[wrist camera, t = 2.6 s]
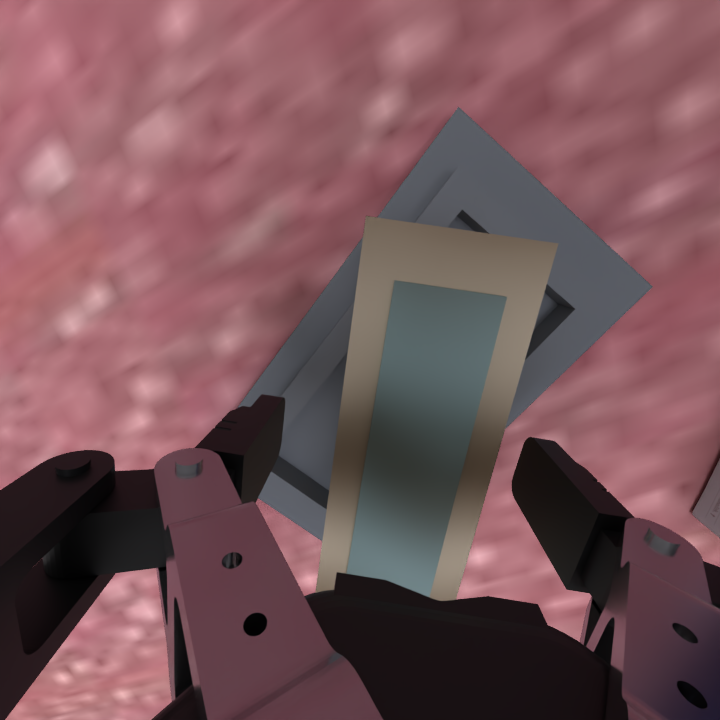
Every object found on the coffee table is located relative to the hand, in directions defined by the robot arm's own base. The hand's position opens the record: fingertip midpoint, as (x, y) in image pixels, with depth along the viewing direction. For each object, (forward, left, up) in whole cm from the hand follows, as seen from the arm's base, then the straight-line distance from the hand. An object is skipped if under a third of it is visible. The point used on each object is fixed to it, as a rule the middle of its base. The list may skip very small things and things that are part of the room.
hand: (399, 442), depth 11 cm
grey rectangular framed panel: (-1, 0, -8) cm, 8 cm away
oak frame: (-1, 0, -5) cm, 5 cm away
